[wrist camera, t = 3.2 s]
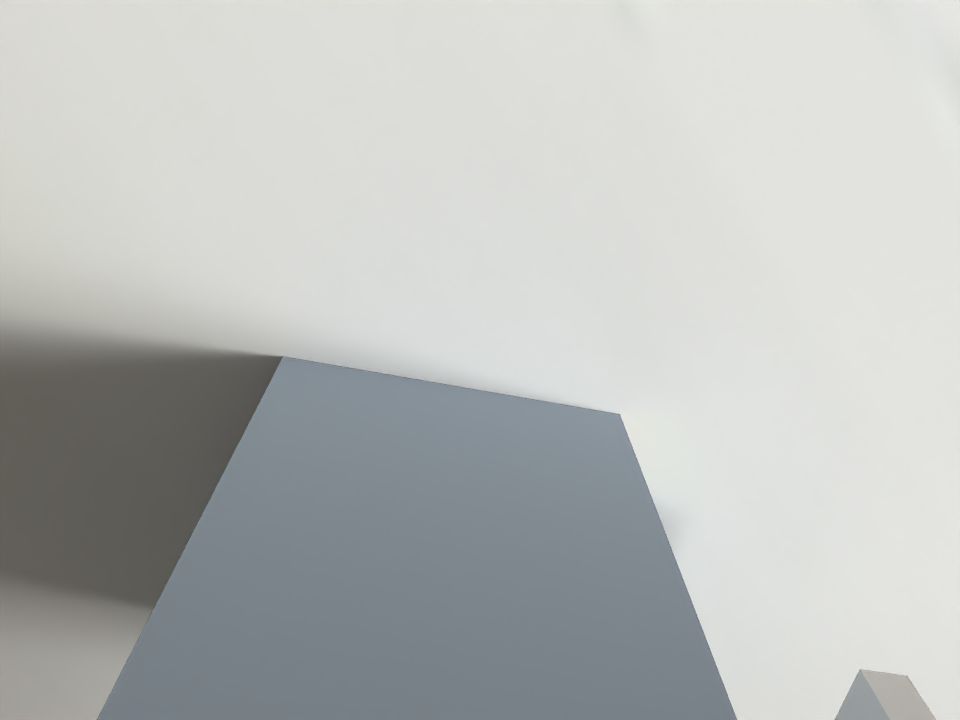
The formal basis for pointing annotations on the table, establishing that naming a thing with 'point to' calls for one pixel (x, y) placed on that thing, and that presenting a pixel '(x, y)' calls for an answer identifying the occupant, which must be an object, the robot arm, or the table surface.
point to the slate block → (423, 569)
